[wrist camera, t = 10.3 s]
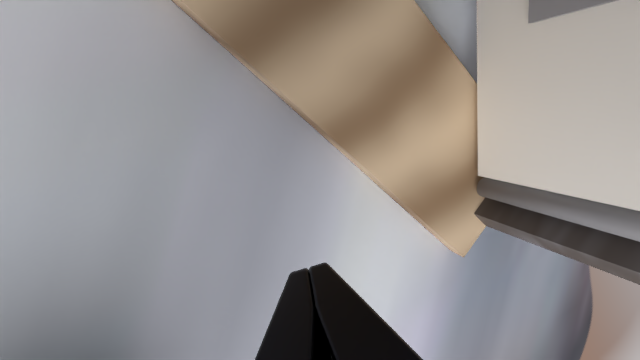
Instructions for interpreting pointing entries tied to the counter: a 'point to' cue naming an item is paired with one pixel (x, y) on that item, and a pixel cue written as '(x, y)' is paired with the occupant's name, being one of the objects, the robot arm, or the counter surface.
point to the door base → (394, 113)
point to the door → (561, 109)
